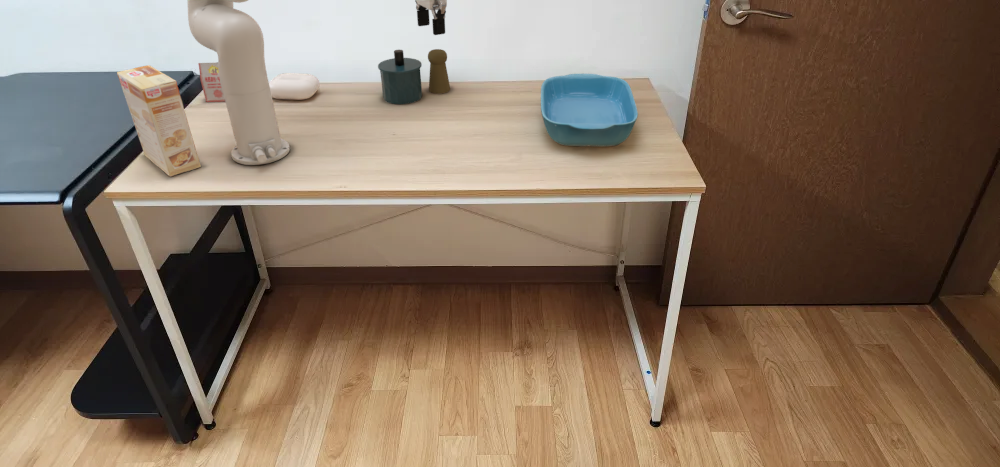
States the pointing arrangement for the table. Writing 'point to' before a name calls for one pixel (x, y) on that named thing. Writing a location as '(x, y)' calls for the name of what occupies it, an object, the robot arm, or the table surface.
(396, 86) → the pot
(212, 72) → the tea bag
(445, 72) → the pepper mill
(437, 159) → the table surface
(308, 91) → the earbud case
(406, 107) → the table surface
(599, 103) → the casserole dish
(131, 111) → the coffeecake box
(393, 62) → the pot lid
